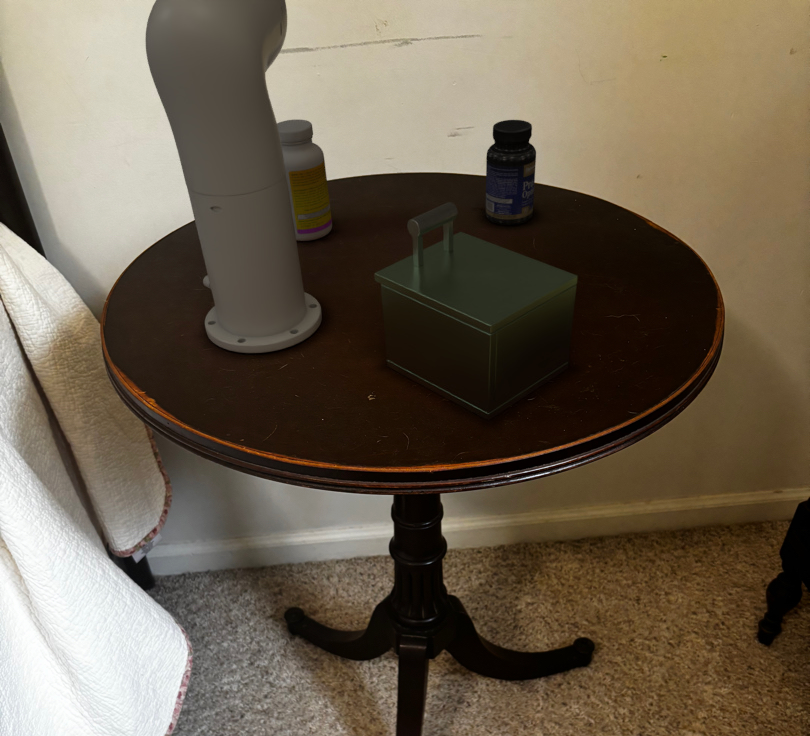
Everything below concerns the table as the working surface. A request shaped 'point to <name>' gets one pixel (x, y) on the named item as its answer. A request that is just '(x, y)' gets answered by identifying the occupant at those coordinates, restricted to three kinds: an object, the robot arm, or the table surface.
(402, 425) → the table surface
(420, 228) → the lid
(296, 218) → the supplement bottle
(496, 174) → the pill bottle
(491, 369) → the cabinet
